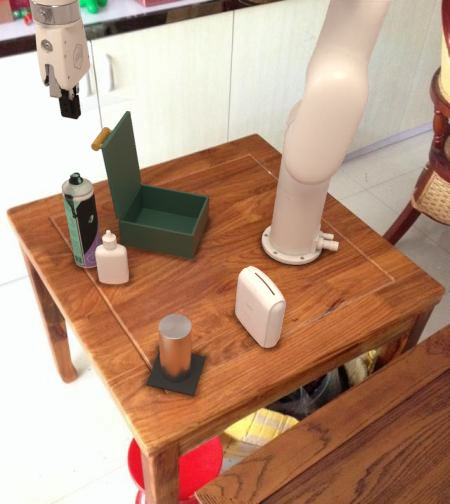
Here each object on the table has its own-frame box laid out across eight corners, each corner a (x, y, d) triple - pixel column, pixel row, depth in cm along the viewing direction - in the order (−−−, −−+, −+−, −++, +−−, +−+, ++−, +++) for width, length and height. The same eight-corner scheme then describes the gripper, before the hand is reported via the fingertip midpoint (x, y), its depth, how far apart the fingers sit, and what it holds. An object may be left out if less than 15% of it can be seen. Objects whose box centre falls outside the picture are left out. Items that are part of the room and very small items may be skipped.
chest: (208, 220, 121) (209, 196, 116) (192, 260, 112) (192, 236, 107) (141, 207, 122) (140, 183, 117) (120, 246, 114) (118, 221, 109)
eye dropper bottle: (108, 267, 109) (102, 219, 100) (133, 277, 108) (128, 229, 99) (95, 281, 107) (87, 233, 98) (120, 291, 105) (114, 244, 96)
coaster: (205, 357, 96) (205, 356, 96) (193, 396, 91) (193, 395, 90) (160, 347, 97) (160, 346, 97) (146, 385, 91) (146, 384, 91)
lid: (130, 111, 106) (107, 109, 106) (104, 147, 97) (80, 144, 98) (141, 181, 117) (121, 179, 118) (120, 219, 108) (97, 217, 109)
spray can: (101, 270, 109) (88, 185, 94) (72, 268, 108) (55, 183, 94) (105, 251, 112) (94, 166, 98) (78, 249, 112) (62, 164, 97)
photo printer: (230, 313, 103) (235, 265, 94) (250, 305, 105) (256, 256, 96) (262, 352, 97) (270, 305, 88) (282, 343, 99) (292, 295, 90)
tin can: (194, 361, 95) (195, 317, 86) (186, 385, 91) (186, 341, 83) (165, 355, 95) (164, 310, 87) (156, 378, 92) (154, 334, 84)
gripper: (58, 31, 83) (74, 141, 96) (96, -4, 93) (106, 100, 106) (10, 23, 83) (33, 133, 97) (53, -11, 93) (68, 93, 107)
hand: (71, 115), depth 102 cm, fingers closed
